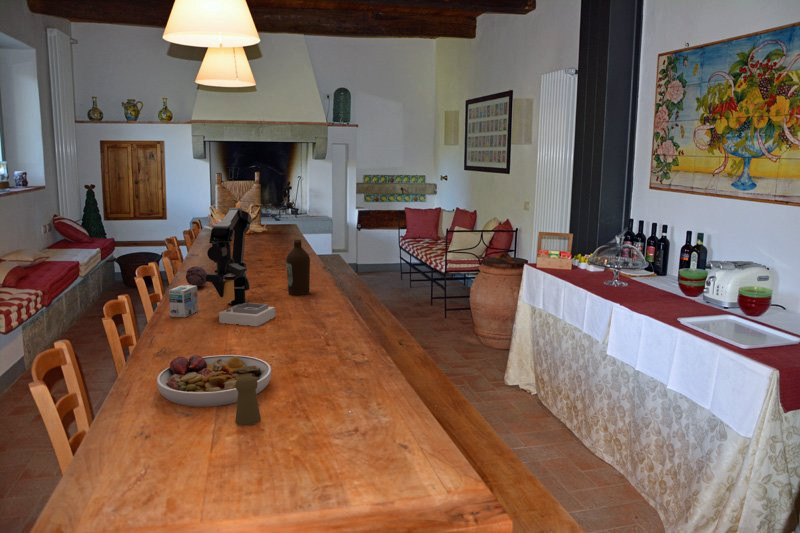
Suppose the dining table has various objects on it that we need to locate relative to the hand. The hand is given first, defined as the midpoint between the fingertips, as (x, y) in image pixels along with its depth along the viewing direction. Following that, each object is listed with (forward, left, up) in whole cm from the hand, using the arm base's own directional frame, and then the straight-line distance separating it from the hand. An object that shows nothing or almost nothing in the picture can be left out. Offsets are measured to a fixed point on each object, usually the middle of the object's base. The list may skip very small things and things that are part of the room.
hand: (225, 295), depth 255 cm
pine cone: (-40, -40, -8) cm, 57 cm away
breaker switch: (+6, +14, -6) cm, 17 cm away
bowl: (+72, +41, -8) cm, 83 cm away
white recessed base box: (+6, +13, -7) cm, 16 cm away
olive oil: (-41, +12, -8) cm, 43 cm away
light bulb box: (+5, -16, -8) cm, 18 cm away
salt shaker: (+88, +60, -8) cm, 107 cm away
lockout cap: (0, 0, -2) cm, 2 cm away
